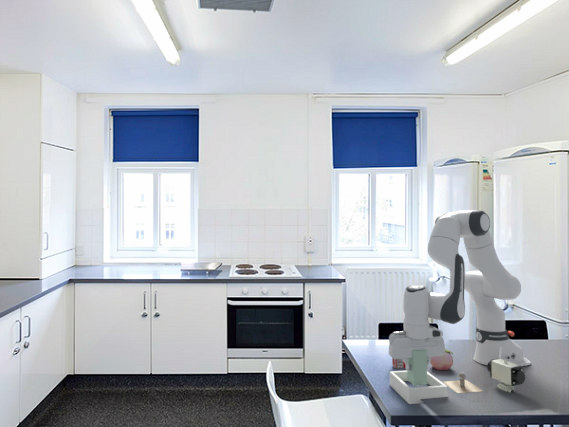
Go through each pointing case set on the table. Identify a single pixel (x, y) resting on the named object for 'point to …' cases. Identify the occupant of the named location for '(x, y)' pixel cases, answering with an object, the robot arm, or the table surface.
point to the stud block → (462, 385)
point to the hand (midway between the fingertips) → (416, 369)
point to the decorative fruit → (442, 361)
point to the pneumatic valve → (506, 374)
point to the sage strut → (418, 368)
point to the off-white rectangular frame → (417, 388)
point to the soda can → (398, 363)
